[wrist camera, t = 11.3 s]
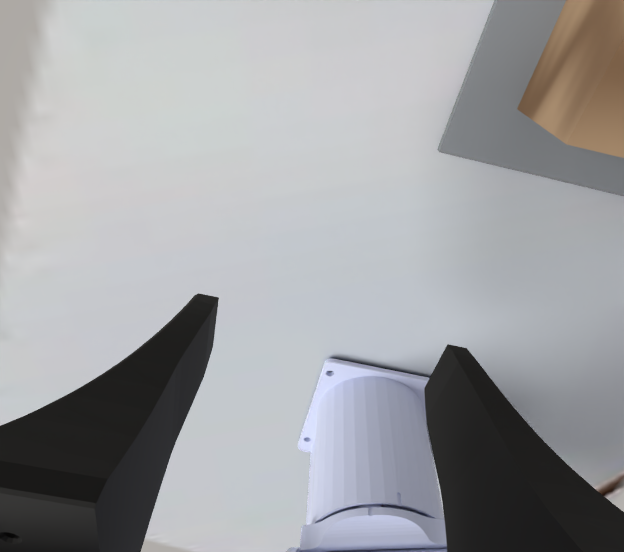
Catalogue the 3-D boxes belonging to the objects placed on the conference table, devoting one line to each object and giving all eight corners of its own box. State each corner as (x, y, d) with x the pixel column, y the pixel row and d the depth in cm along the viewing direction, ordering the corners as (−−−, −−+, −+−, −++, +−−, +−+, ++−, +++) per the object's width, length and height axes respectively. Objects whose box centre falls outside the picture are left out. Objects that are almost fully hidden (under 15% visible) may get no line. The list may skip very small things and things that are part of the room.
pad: (635, 196, 21) (640, 200, 21) (437, 149, 20) (439, 152, 20) (809, -58, 16) (819, -59, 15) (546, -136, 15) (551, -138, 15)
